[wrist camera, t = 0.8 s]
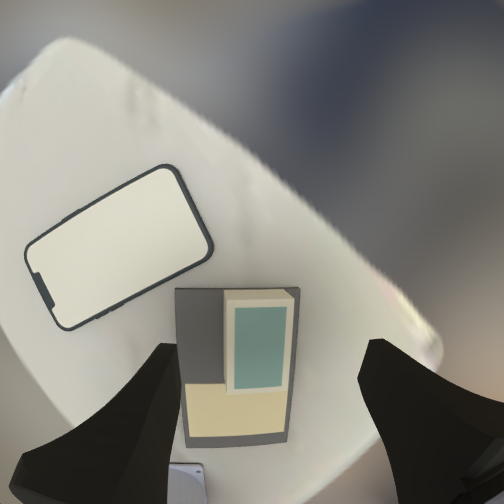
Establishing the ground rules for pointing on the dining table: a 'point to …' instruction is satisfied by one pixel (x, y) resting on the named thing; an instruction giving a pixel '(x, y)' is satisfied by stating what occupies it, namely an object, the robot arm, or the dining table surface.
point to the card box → (257, 340)
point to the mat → (212, 378)
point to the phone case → (118, 247)
